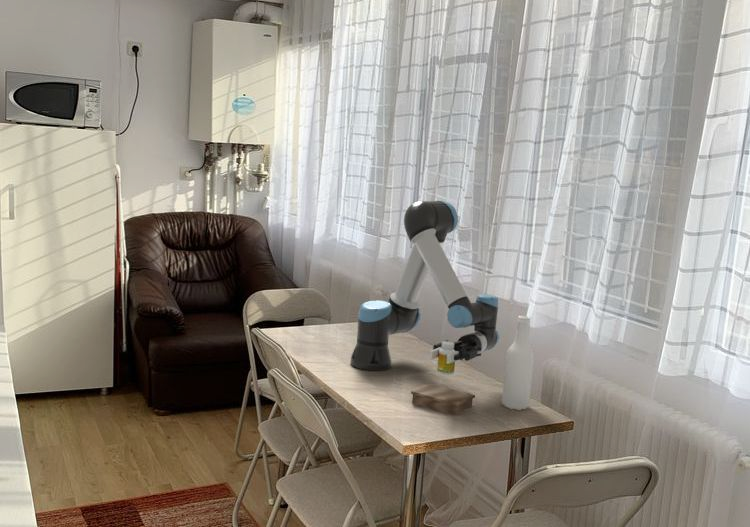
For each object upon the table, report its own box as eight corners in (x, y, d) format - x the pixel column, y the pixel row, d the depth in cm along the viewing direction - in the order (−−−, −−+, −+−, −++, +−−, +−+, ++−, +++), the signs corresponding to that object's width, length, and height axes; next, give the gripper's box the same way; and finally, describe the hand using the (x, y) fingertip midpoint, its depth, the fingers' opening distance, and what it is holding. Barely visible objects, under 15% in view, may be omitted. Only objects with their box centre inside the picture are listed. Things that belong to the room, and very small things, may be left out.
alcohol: (496, 401, 261) (506, 313, 256) (520, 401, 263) (530, 313, 258) (508, 410, 252) (518, 319, 248) (533, 410, 255) (543, 320, 250)
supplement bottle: (442, 375, 247) (445, 345, 246) (433, 370, 252) (436, 341, 251) (457, 374, 250) (459, 344, 249) (448, 369, 255) (450, 340, 253)
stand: (409, 403, 252) (410, 391, 252) (427, 394, 262) (428, 383, 262) (457, 416, 243) (458, 403, 243) (474, 407, 253) (475, 395, 253)
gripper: (495, 360, 261) (464, 375, 241) (446, 349, 271) (412, 362, 251) (497, 338, 260) (467, 351, 240) (448, 328, 269) (414, 339, 250)
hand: (439, 357), depth 246 cm, fingers closed on supplement bottle, 5 cm apart
